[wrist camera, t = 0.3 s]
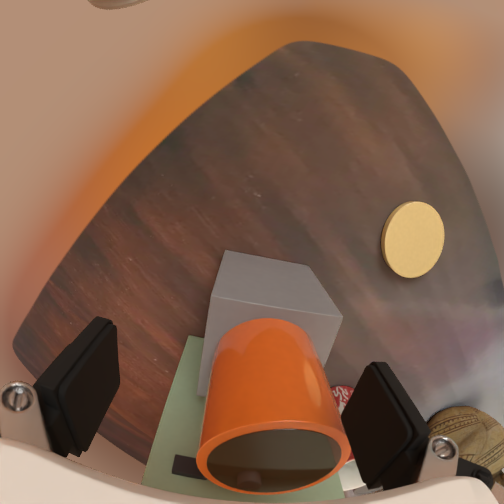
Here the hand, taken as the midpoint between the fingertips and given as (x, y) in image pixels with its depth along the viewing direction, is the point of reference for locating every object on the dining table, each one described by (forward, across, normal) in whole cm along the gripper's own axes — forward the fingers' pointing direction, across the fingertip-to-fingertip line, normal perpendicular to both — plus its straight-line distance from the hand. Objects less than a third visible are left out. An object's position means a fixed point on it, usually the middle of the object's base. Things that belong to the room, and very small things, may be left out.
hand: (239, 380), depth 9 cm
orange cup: (+9, -3, +5) cm, 10 cm away
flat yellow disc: (+20, -19, -4) cm, 29 cm away
